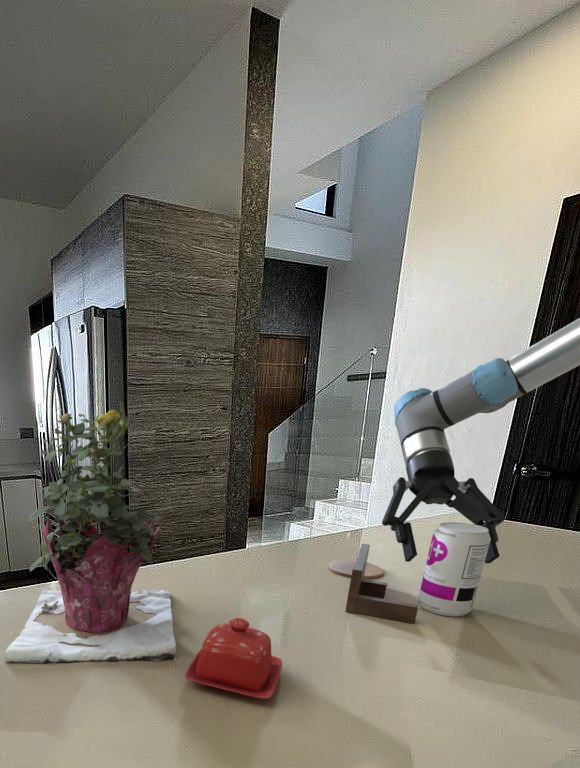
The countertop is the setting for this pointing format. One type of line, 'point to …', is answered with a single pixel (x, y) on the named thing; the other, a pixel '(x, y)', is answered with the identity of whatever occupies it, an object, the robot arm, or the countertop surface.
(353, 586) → the dark wooden l-bracket
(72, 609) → the potted flower
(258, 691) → the butter dish
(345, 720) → the countertop surface
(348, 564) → the cork coaster
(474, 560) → the supplement can
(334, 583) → the countertop surface
